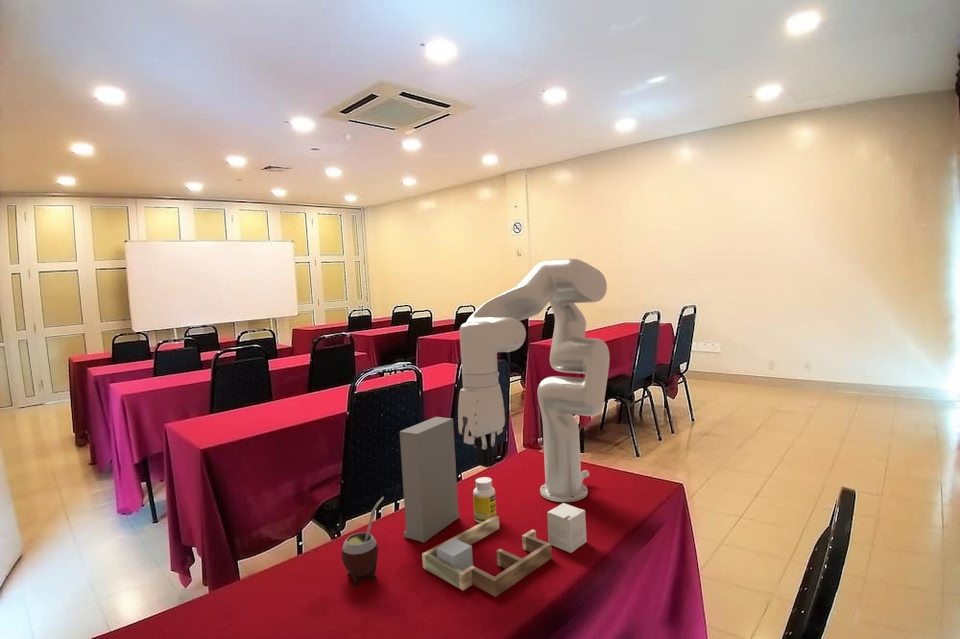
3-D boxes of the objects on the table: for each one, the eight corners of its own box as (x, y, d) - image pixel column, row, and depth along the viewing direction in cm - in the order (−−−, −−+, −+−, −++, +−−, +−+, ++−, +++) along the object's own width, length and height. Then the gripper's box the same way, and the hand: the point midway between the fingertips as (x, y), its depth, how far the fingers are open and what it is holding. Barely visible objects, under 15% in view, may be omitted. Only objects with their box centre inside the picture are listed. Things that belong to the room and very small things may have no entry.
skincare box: (564, 533, 115) (562, 502, 114) (587, 542, 110) (585, 509, 110) (547, 544, 110) (546, 511, 110) (571, 553, 106) (569, 519, 106)
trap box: (496, 527, 119) (495, 515, 119) (559, 553, 107) (558, 539, 106) (422, 567, 104) (422, 553, 104) (486, 603, 91) (485, 587, 91)
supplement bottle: (494, 524, 121) (492, 484, 120) (472, 524, 122) (470, 484, 121) (498, 514, 126) (496, 476, 125) (476, 513, 127) (474, 475, 126)
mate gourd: (336, 585, 99) (331, 510, 98) (357, 563, 107) (352, 494, 106) (371, 589, 97) (366, 513, 96) (389, 567, 105) (384, 496, 104)
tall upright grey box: (439, 513, 129) (433, 416, 127) (459, 518, 125) (453, 418, 124) (403, 537, 117) (396, 431, 115) (424, 543, 114) (417, 434, 112)
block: (456, 561, 106) (454, 538, 105) (473, 570, 102) (471, 546, 102) (438, 572, 102) (436, 548, 102) (454, 581, 99) (453, 556, 98)
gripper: (491, 372, 115) (496, 452, 116) (441, 385, 104) (447, 472, 105) (517, 375, 109) (521, 458, 111) (467, 389, 99) (472, 480, 100)
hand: (485, 465), depth 108 cm, fingers closed
